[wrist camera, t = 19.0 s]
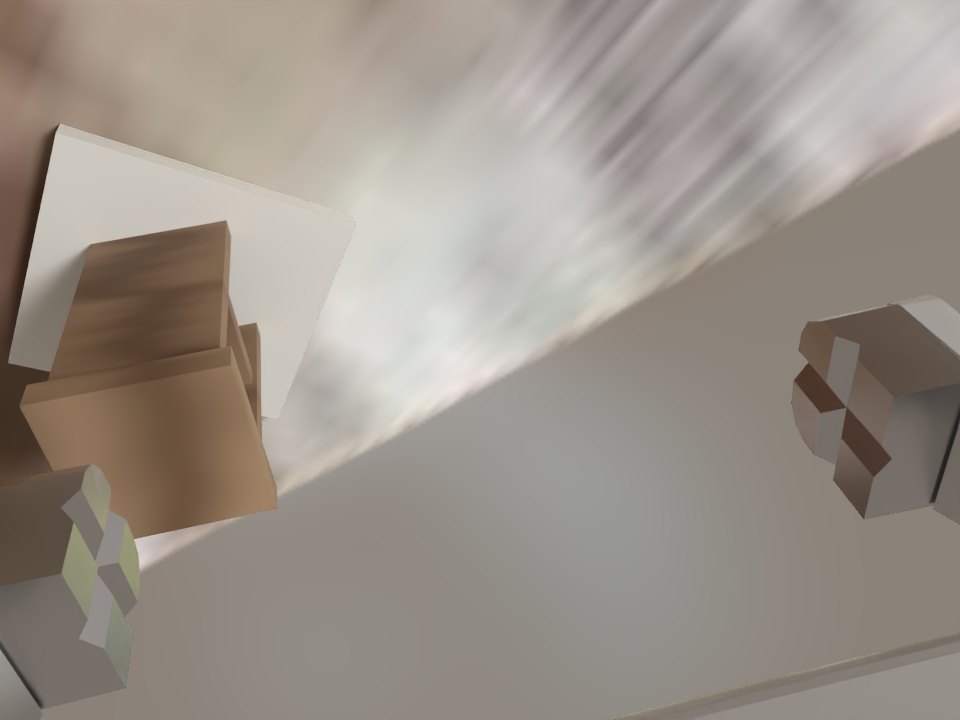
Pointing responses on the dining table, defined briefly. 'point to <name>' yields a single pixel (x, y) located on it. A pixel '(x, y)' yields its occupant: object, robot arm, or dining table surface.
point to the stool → (159, 384)
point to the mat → (173, 205)
